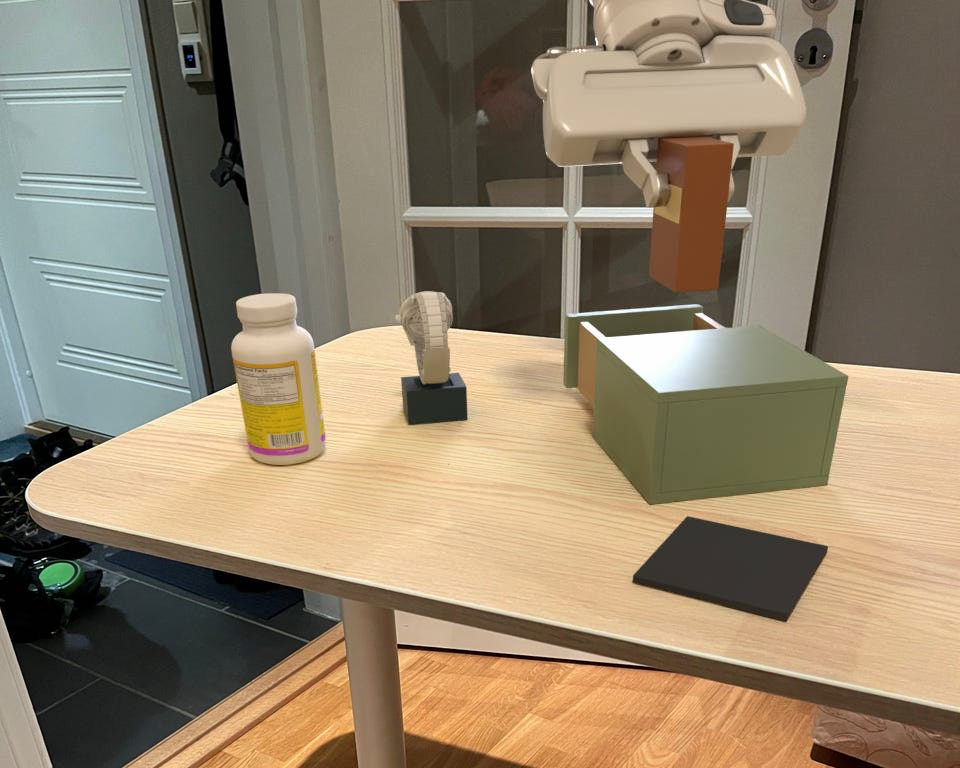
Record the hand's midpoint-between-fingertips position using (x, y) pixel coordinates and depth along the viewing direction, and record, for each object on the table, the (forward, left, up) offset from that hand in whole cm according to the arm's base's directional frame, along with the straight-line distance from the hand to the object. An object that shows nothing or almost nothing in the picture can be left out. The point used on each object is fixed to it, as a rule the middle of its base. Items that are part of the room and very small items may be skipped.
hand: (691, 200), depth 71 cm
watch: (+22, +3, -19) cm, 30 cm away
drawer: (+6, -8, -18) cm, 21 cm away
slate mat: (-12, +19, -19) cm, 30 cm away
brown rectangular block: (0, 0, -6) cm, 6 cm away
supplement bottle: (+28, +17, -19) cm, 38 cm away
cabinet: (-4, +2, -19) cm, 20 cm away
